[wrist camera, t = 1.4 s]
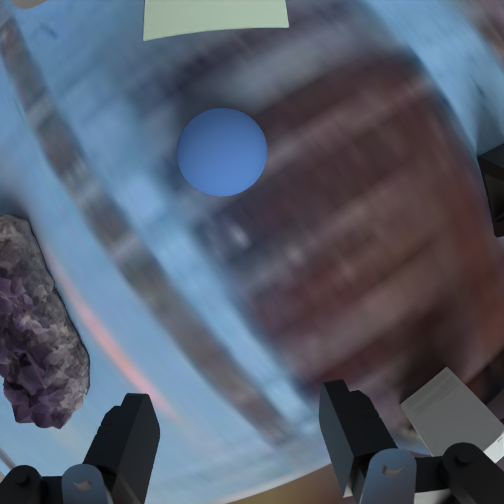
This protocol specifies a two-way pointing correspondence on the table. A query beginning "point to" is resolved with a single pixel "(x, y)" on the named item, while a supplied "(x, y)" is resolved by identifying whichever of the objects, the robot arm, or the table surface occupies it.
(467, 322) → the table surface
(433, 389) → the supplement box
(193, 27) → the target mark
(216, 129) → the ball
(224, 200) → the table surface
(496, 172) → the phone stand
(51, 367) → the geode
